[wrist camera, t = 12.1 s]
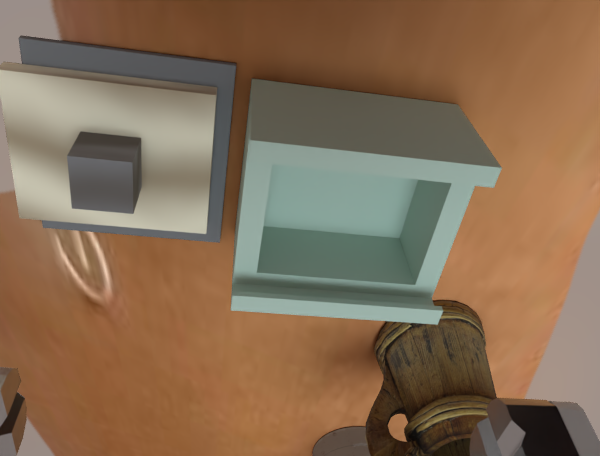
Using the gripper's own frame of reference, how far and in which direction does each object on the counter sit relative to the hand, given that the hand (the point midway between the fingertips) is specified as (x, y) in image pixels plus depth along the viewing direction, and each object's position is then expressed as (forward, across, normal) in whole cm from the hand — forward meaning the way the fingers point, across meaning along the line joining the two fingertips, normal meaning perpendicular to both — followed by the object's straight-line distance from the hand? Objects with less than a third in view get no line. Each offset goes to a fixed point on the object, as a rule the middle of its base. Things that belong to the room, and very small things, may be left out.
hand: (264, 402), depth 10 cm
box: (+26, -6, +11) cm, 29 cm away
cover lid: (+26, +8, +11) cm, 29 cm away
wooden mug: (+26, -15, +27) cm, 40 cm away
